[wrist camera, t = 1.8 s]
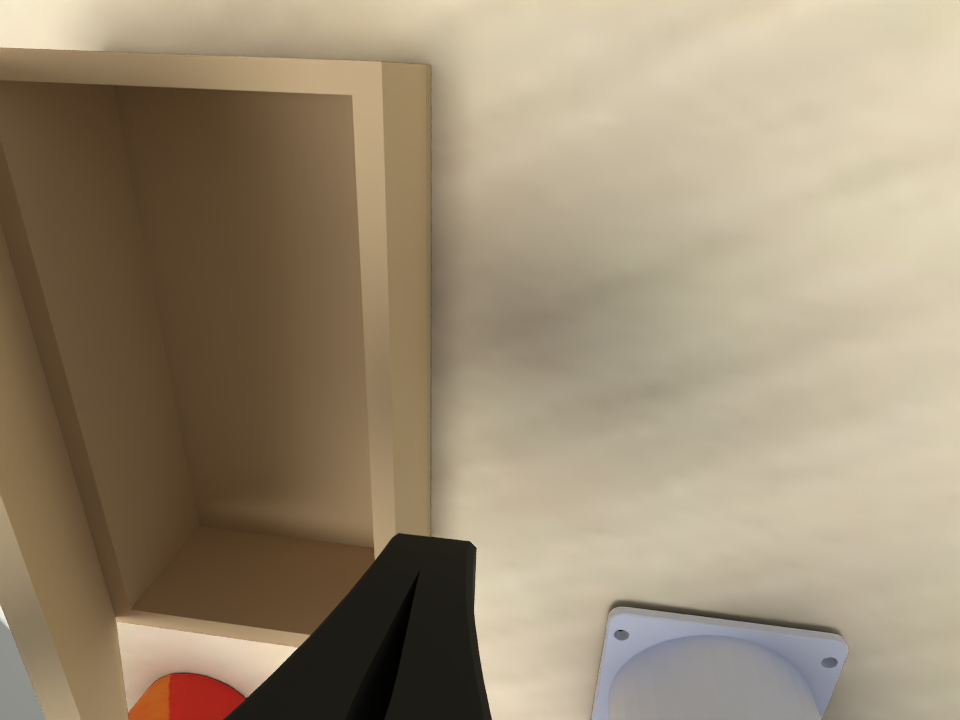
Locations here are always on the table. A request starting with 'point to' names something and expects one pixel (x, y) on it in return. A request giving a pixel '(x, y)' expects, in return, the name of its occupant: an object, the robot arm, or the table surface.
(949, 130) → the table surface
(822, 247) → the table surface
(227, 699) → the paper cup
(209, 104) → the kraft box
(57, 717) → the lid flap
